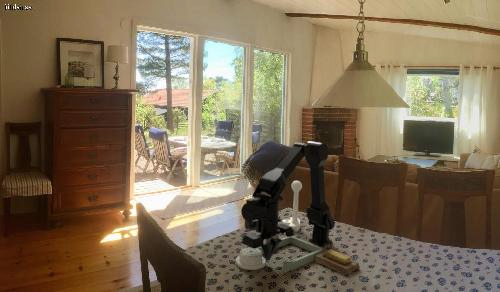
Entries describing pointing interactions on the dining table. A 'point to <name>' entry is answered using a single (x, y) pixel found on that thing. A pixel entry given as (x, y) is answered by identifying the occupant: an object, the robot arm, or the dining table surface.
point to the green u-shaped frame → (301, 260)
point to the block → (337, 257)
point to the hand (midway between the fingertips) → (267, 259)
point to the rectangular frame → (337, 264)
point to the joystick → (294, 208)
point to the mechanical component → (250, 259)
